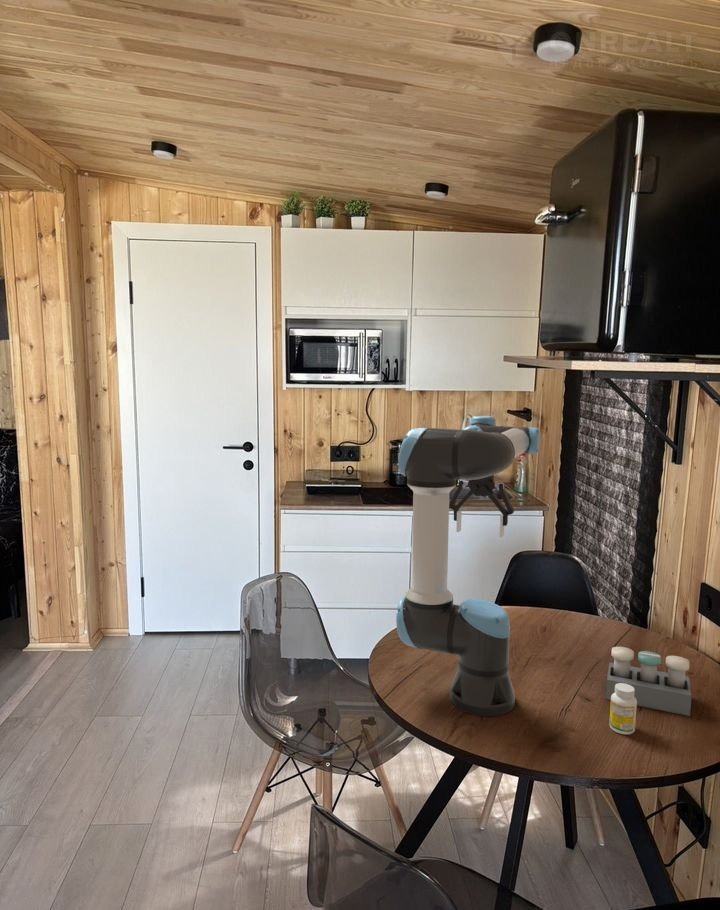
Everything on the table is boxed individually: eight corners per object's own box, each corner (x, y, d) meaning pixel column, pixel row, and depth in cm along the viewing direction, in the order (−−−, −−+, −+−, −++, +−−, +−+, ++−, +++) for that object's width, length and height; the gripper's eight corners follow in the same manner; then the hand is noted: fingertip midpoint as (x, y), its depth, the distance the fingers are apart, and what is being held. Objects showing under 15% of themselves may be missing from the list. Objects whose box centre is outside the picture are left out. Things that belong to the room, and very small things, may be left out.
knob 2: (688, 692, 147) (690, 666, 146) (664, 688, 149) (666, 662, 148) (686, 683, 151) (688, 658, 151) (663, 679, 153) (665, 654, 153)
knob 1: (632, 682, 152) (633, 657, 151) (609, 678, 154) (611, 653, 153) (632, 673, 156) (634, 648, 155) (610, 669, 158) (612, 645, 157)
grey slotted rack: (689, 716, 145) (691, 695, 144) (605, 699, 152) (607, 679, 152) (687, 696, 154) (688, 676, 153) (608, 680, 161) (609, 662, 161)
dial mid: (659, 687, 149) (661, 660, 148) (636, 683, 151) (638, 656, 150) (659, 678, 154) (661, 652, 153) (636, 674, 156) (638, 648, 155)
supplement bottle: (627, 738, 136) (630, 696, 135) (604, 727, 140) (606, 686, 139) (639, 729, 139) (642, 688, 138) (616, 719, 144) (619, 679, 142)
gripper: (525, 467, 193) (522, 534, 196) (446, 462, 203) (444, 526, 206) (520, 470, 187) (518, 540, 189) (439, 465, 197) (437, 531, 199)
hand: (479, 533), depth 198 cm, fingers open, 13 cm apart
